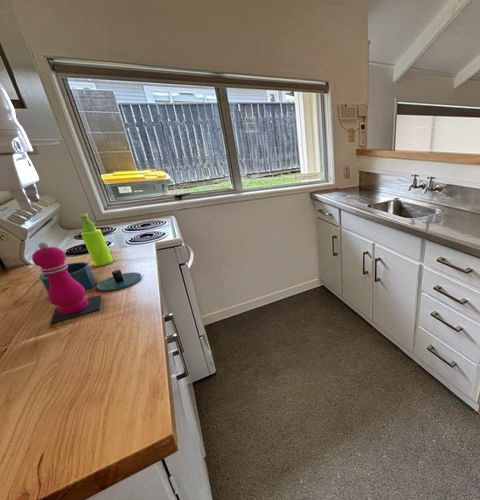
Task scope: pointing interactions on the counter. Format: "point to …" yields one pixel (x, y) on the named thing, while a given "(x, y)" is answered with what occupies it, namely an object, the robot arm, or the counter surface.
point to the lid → (119, 281)
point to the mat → (92, 307)
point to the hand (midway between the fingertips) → (31, 204)
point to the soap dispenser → (95, 242)
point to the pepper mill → (60, 280)
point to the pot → (76, 275)
